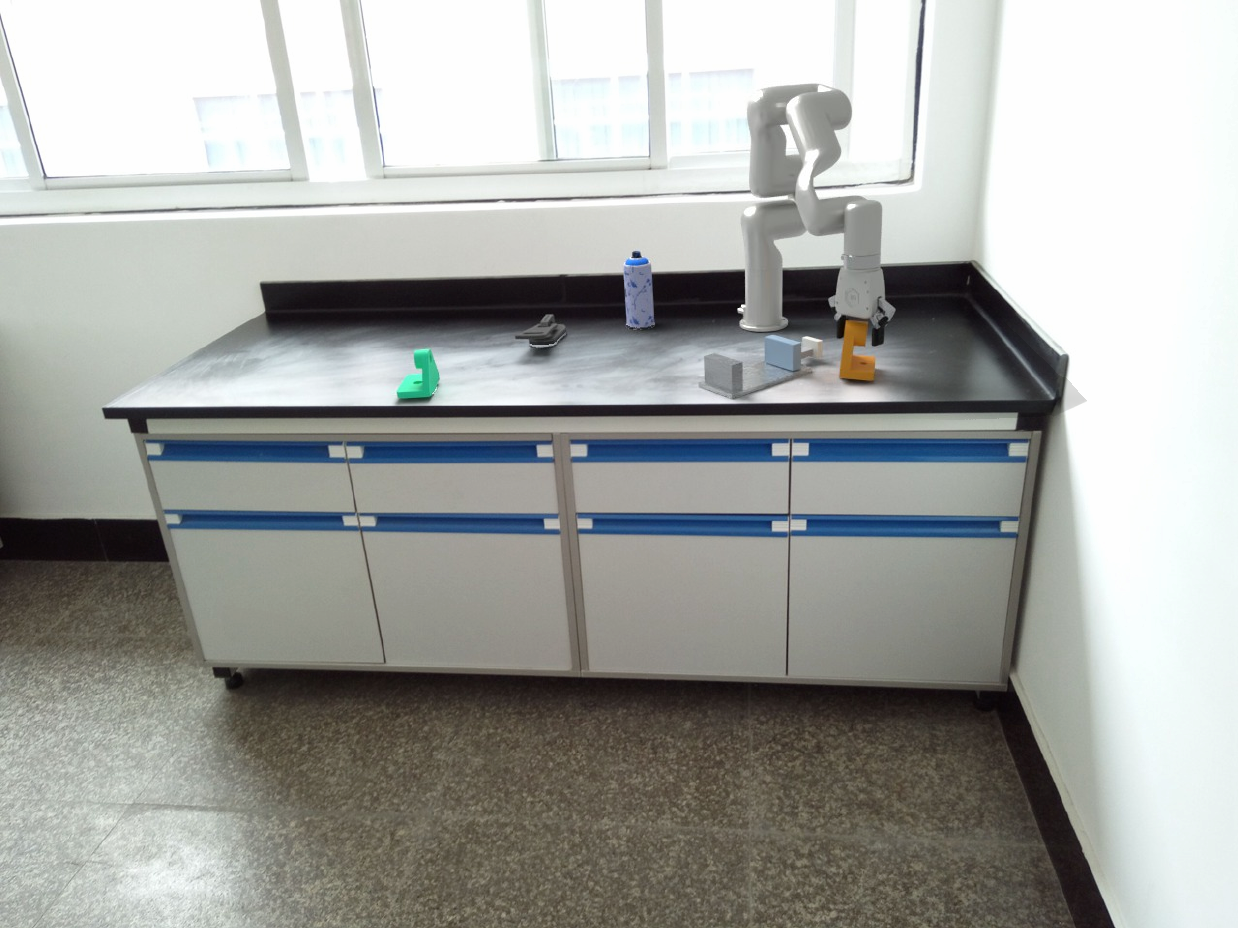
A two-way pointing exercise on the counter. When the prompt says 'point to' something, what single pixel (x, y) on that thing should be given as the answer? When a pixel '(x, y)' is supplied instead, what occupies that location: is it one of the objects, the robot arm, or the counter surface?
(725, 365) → the vise
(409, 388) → the camera mount
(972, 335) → the counter surface
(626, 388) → the counter surface
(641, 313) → the aerosol can
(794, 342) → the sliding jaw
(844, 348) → the bracket
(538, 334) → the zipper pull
